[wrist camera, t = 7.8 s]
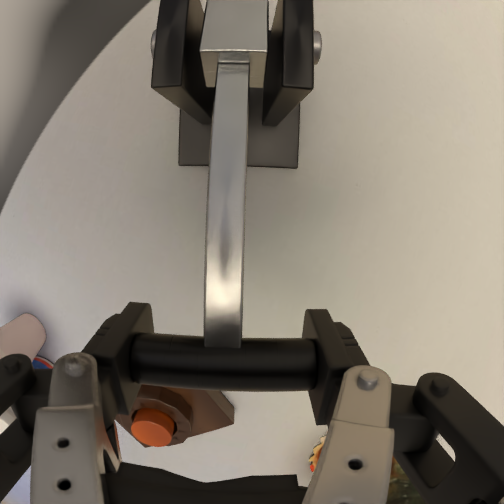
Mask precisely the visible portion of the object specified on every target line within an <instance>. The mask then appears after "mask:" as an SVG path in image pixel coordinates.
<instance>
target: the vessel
mask: <svg viewBox="0 0 504 504" xmlns="http://www.w3.org/2000/svg"><path fill="white" fill-rule="evenodd" d="M325 438H326V436H324V437H321V438H320V439H321V442H322V444H320V445H318V446H317V447H315V448H313V452H314V456H312V457H311V458H310V460H309V462H310V461H313V462H312V464H311V466H310V468H311V471H312V472H313V471H314V470H315V468H316V465H317V462H318V459H319V456H320V453H321V450H322V447H323V444H324V441H325ZM386 504H426V503H425V502H424V500H423V499H422V497H421V496H420V494H419V493H418V491H417V490H416V488H415V487H414V486H413V484H412V483H411V481H410V480H409V478H408V477H407V475H406V474H405V472H404V471H403V470H402V468H401V467H400V465H399V464H398V462H397V461H396V459H395V458H394V456H392V465H391V474H390V481H389V488H388V495H387V501H386Z"/></svg>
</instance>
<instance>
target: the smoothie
mask: <svg viewBox="0 0 504 504" xmlns="http://www.w3.org/2000/svg"><path fill="white" fill-rule="evenodd" d="M45 340H46V333H45V330H44V327H43V326H42V324H41V323H40V321H39V320H38V319H37V318H36V317H34V316H33V315H31V314H27V313H25V314H22V315H21V316H19V317H17V318H16V319H14V320H12V321H10V322H9V323H7V324H5V325H4V326H2V327H0V359H1V358H3V357H5V356H7V355H10V354H17V353H18V354H24V355H27V356H28V357H29V358H30V359H31V362H32V361H33V360H34V358H35V357H36V355H37V353H38V352H39V350H40V349H41V347H42V346H43V344H44V342H45Z"/></svg>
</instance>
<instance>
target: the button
mask: <svg viewBox="0 0 504 504" xmlns="http://www.w3.org/2000/svg"><path fill="white" fill-rule="evenodd" d="M174 426H175V425H174V421H173V419H172V418H171V417H170V416H169V415H168V414H166V413H164V412H162V411H160V410H158V409H152V408H142V409H140V410H138V411H137V413H136V415H135V418H134V420H133V423H132V426H131V431H132V434H133V435H134V436H135V437H136V438H137V439H138V440H139V441H141V442H142V443H144V444H147V445H150V446H155V447H162V446H166V445H168V444H169V443H170V442H171V440H172V435H173V431H174Z"/></svg>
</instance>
